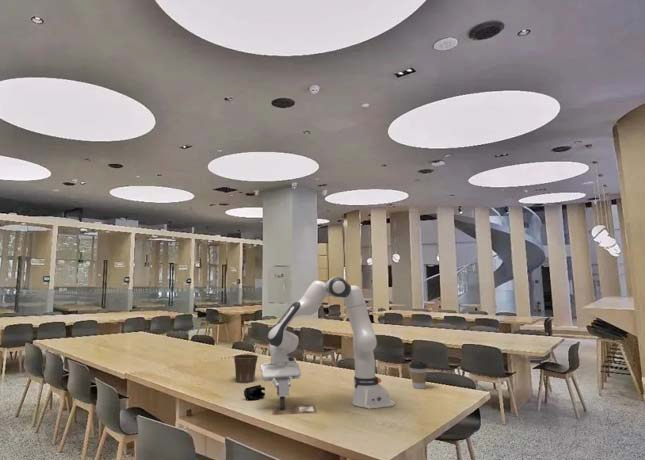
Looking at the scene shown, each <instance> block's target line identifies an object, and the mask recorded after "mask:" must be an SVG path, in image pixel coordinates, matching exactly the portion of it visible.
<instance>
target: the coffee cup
mask: <svg viewBox="0 0 645 460" xmlns="http://www.w3.org/2000/svg"><path fill="white" fill-rule="evenodd" d="M408 368H410V374H411V381H412V382H411V383H412V387H413V389H417V390H425V389H426V385H427V374H428V365H427V363H426V362H425V361H411V362H410V364H409V365H408Z"/></svg>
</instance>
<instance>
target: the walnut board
mask: <svg viewBox="0 0 645 460" xmlns="http://www.w3.org/2000/svg"><path fill="white" fill-rule="evenodd" d="M285 400H286V396H283V397H279V405H274V406H273V405H272V406H271V408H272V409H271V410H272V411H271V412H272V413H271V414H272V416H277V415H301V414H303V415H304V414H318V411H317V408H316V404H298V405H297V404H296V405H293V404H292V405H285V402H286V401H285Z"/></svg>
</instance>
